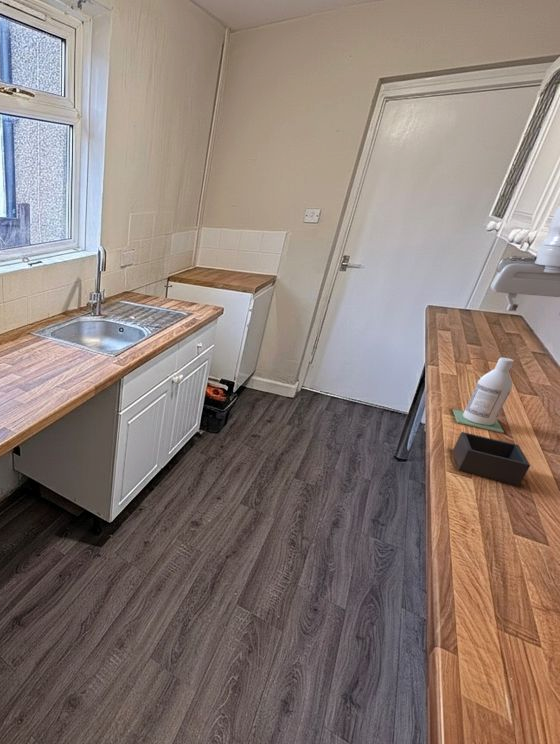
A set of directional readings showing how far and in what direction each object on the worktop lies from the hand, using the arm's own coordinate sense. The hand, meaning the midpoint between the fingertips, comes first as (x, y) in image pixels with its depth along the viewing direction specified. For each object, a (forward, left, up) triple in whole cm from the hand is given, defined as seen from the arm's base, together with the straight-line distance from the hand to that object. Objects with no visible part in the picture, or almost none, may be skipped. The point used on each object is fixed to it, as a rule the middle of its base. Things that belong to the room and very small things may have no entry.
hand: (536, 313), depth 106 cm
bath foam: (-1, -8, -35) cm, 36 cm away
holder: (+2, +23, -35) cm, 42 cm away
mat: (-1, -8, -35) cm, 36 cm away
